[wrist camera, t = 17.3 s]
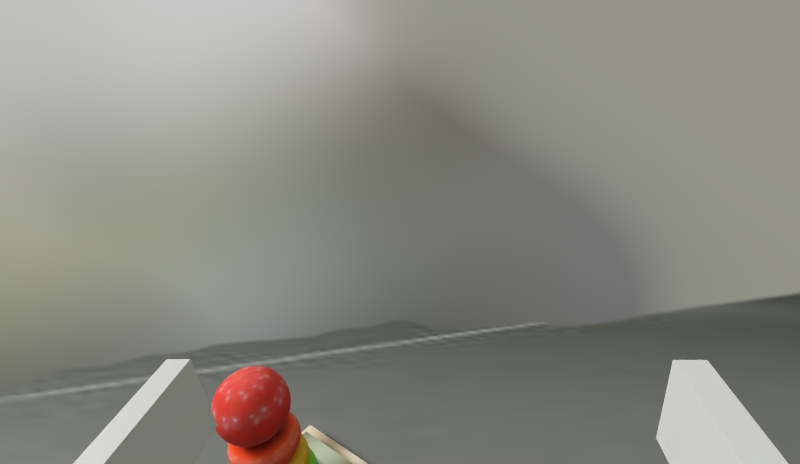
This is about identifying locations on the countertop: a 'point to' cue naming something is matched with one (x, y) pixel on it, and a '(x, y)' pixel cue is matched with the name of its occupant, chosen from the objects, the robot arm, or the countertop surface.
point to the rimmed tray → (328, 449)
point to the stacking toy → (259, 419)
